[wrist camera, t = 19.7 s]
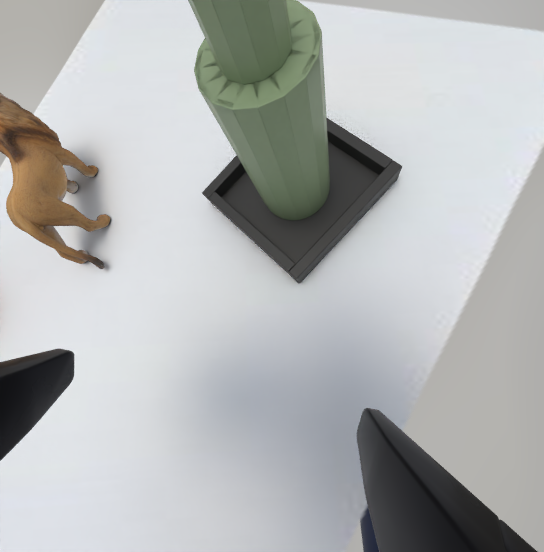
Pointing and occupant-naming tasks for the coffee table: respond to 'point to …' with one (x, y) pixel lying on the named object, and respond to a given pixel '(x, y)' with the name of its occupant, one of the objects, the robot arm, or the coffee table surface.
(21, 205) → the lion figurine
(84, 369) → the coffee table surface
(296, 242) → the tray
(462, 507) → the robot arm
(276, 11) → the vase
